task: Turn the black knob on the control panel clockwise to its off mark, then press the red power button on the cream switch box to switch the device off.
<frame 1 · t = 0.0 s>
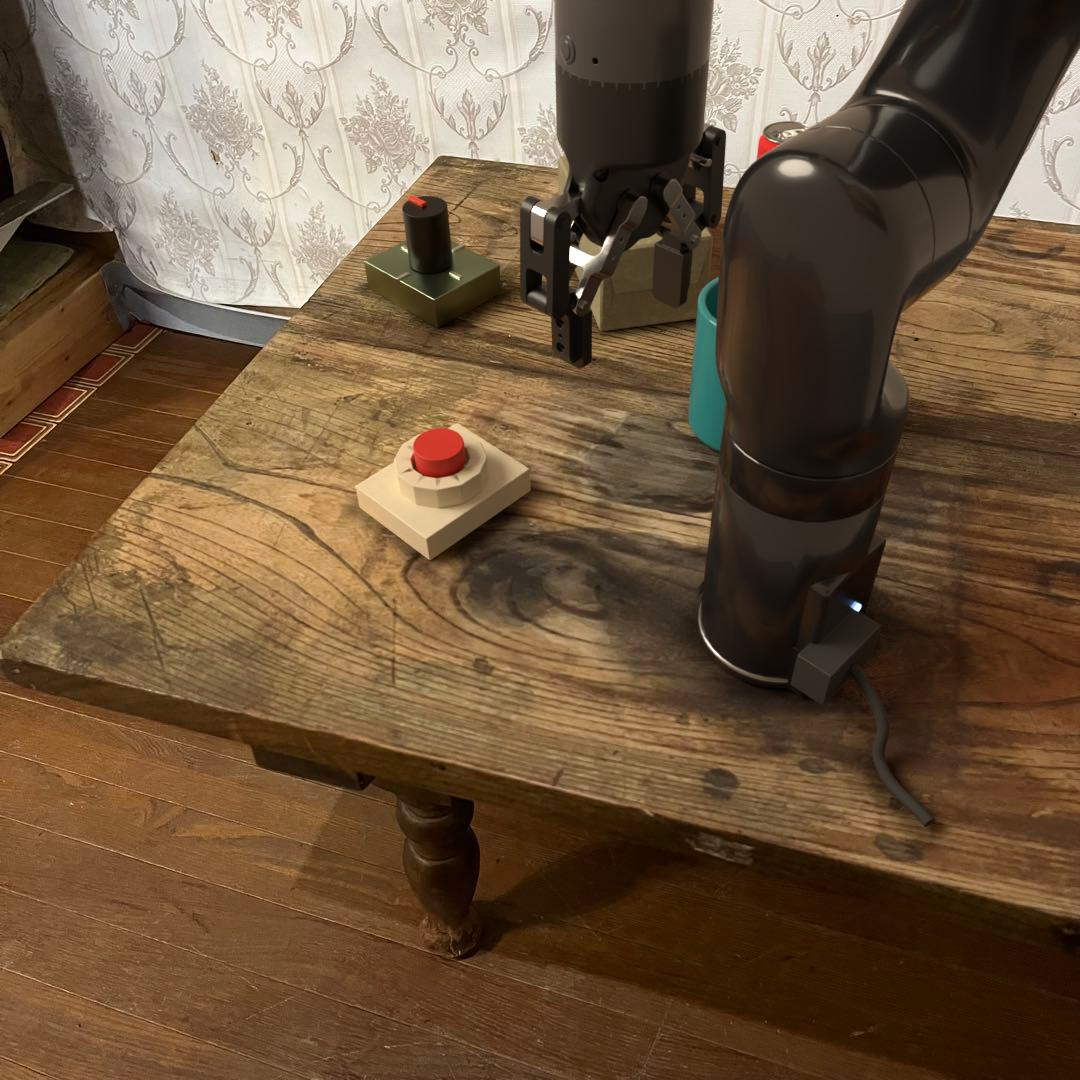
hand: (623, 330, 62), 17 cm above the table, tool pointing down, fingers open, 8 cm apart
beverage can: (772, 255, 100), on the table
tissue box: (628, 275, 99), on the table
cup: (747, 438, 81), on the table
dial: (427, 233, 93), point 6 cm above the table, hinge at 0.0°
power button: (439, 453, 74), point 4 cm above the table, slide at 0.1 cm
control panel: (434, 291, 97), on the table
switch box: (445, 499, 77), on the table
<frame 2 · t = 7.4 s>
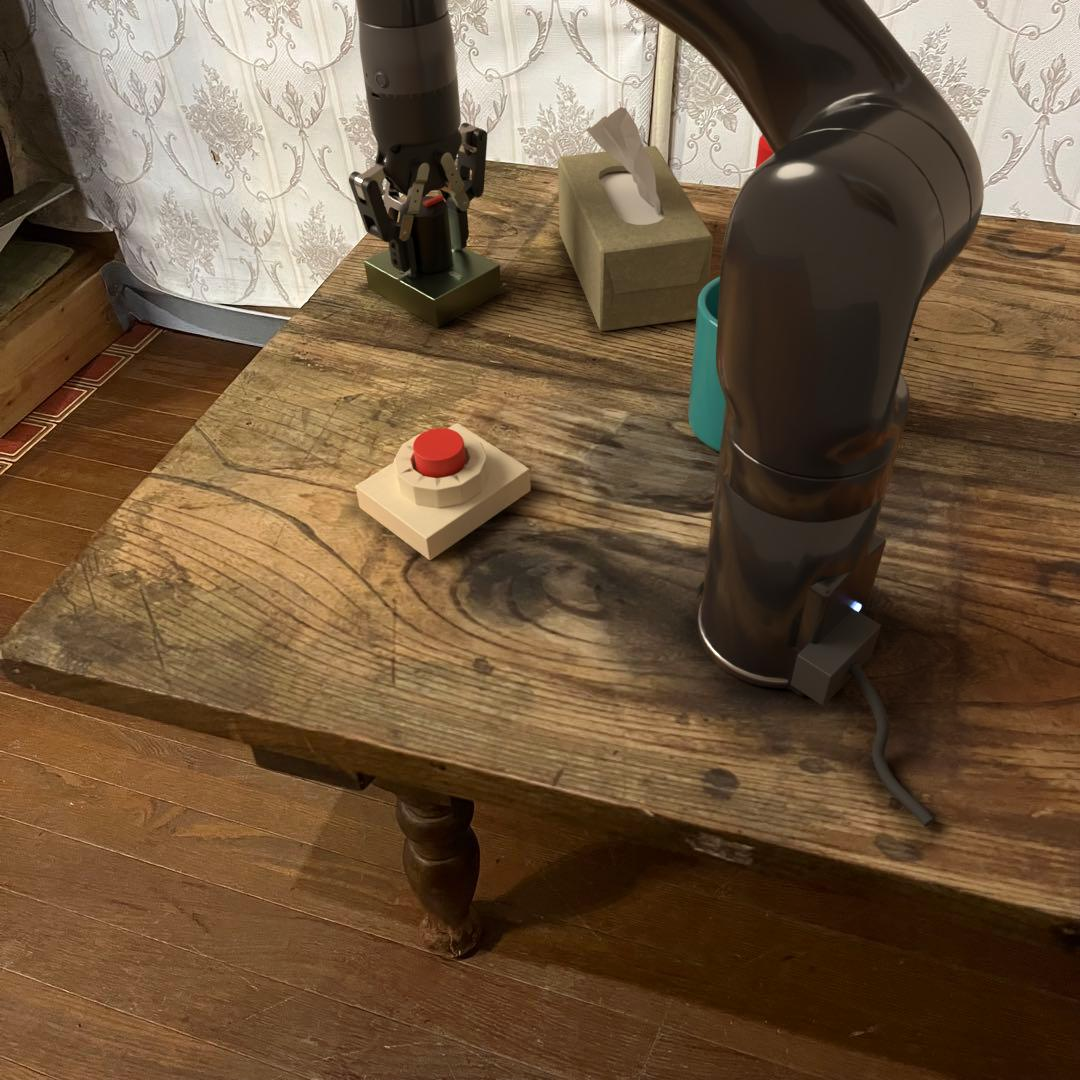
hand: (431, 258, 95), 3 cm above the table, tool pointing down, fingers open, 5 cm apart
dial: (427, 233, 93), point 6 cm above the table, hinge at -93.4°
everything else where it was.
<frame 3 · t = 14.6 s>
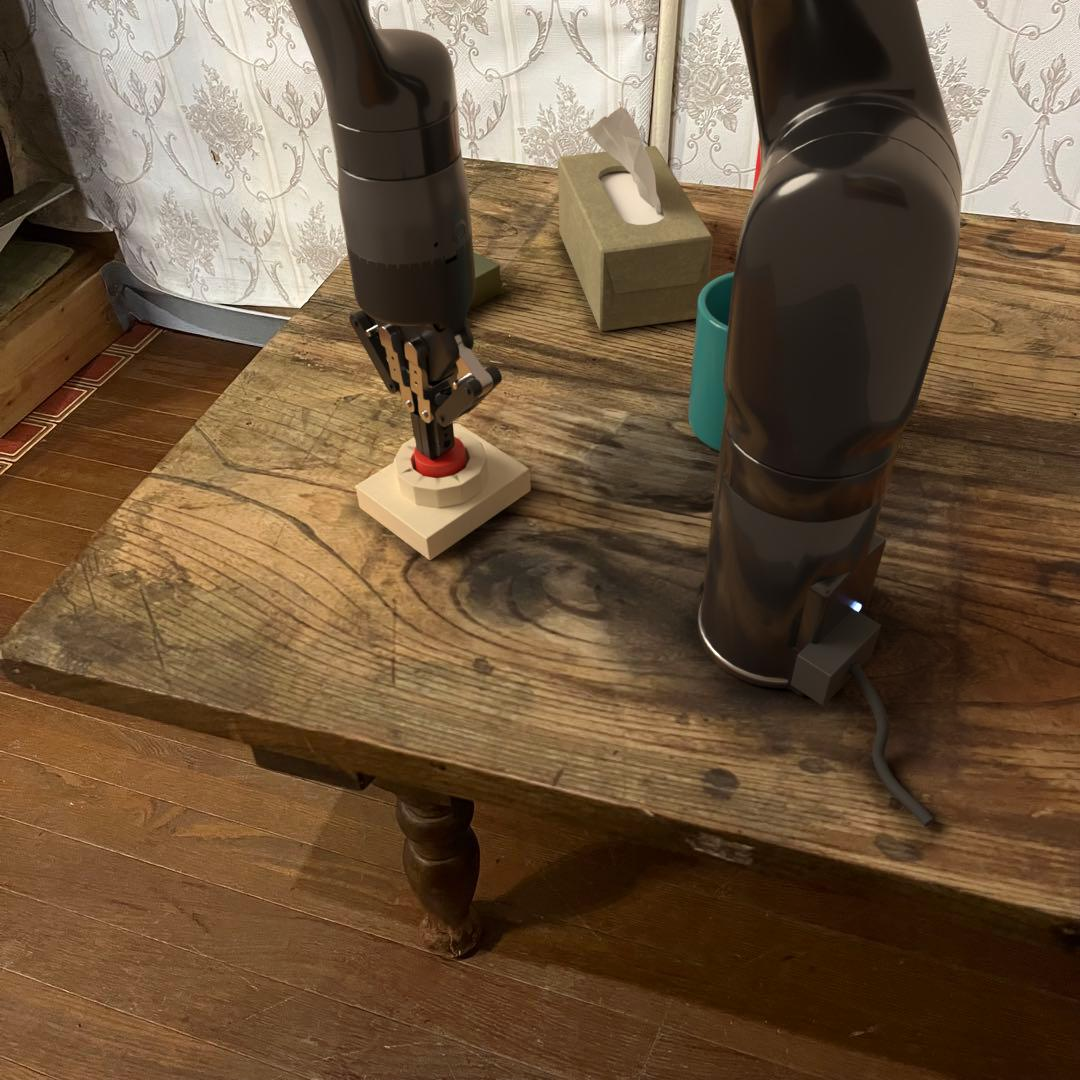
hand: (435, 450, 73), 5 cm above the table, tool pointing down, fingers closed
power button: (440, 459, 74), point 4 cm above the table, slide at -0.5 cm, touching gripper
everything else where it was.
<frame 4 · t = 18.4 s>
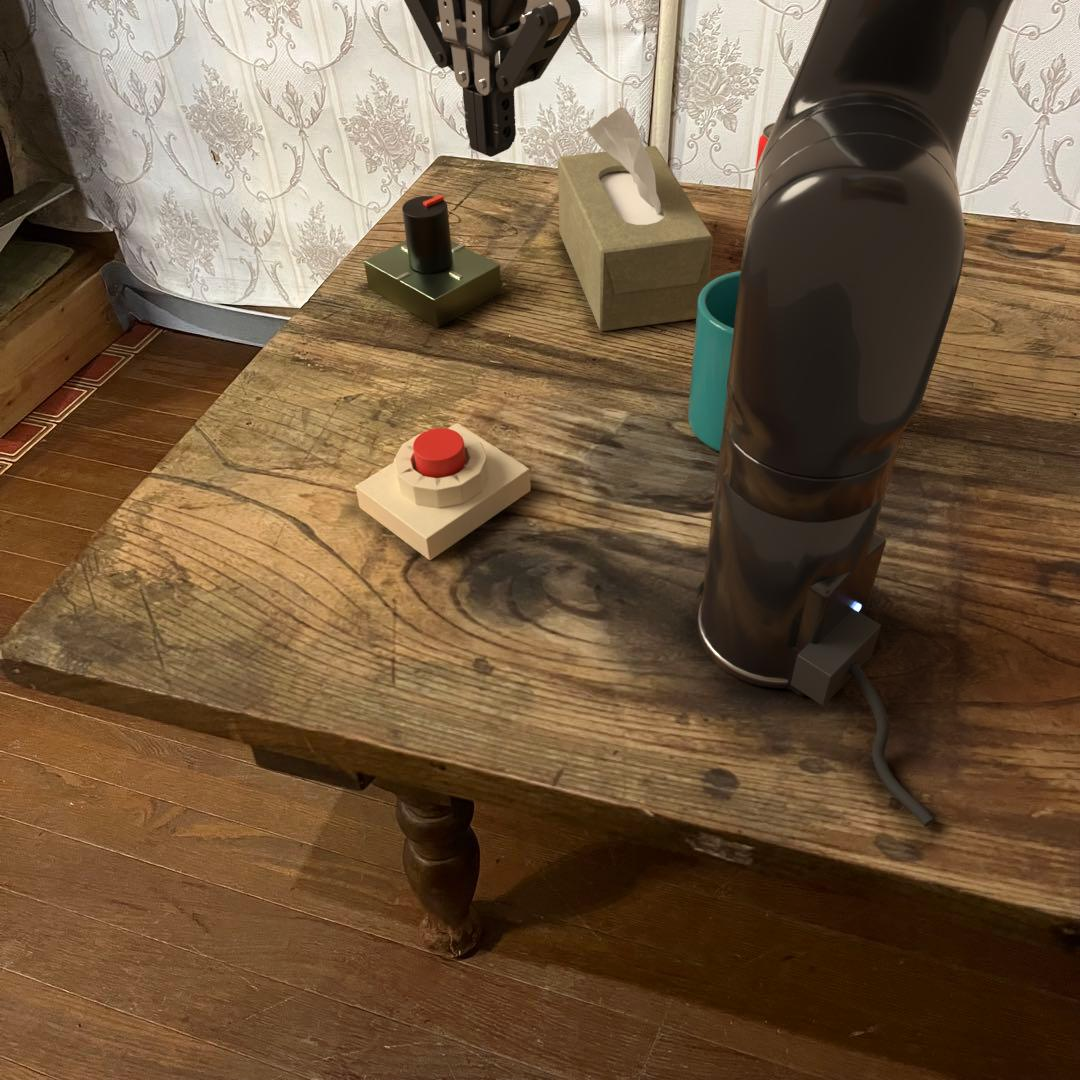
hand: (492, 149, 62), 25 cm above the table, tool pointing down, fingers closed
power button: (439, 453, 74), point 4 cm above the table, slide at 0.1 cm
everything else where it was.
at the end: dial at -93° (first picture: +0°); power button pushed in 1.1 cm at the most during the clip, back to where it started at the end; power button slide at 0.1 cm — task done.
